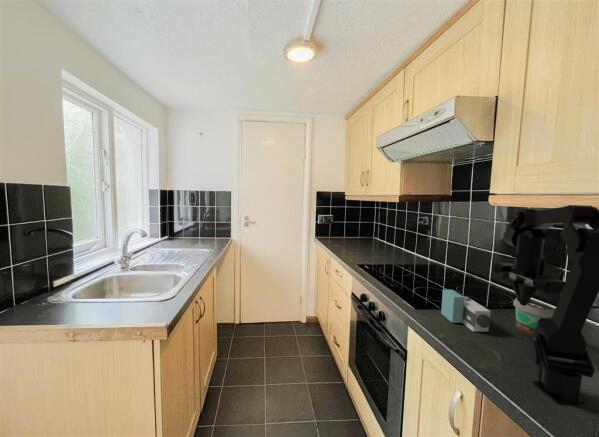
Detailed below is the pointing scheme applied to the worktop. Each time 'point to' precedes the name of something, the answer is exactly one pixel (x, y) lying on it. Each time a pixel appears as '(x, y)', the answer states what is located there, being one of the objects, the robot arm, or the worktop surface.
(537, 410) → the worktop surface
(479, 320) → the camera housing
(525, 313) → the food container
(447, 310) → the teal block
